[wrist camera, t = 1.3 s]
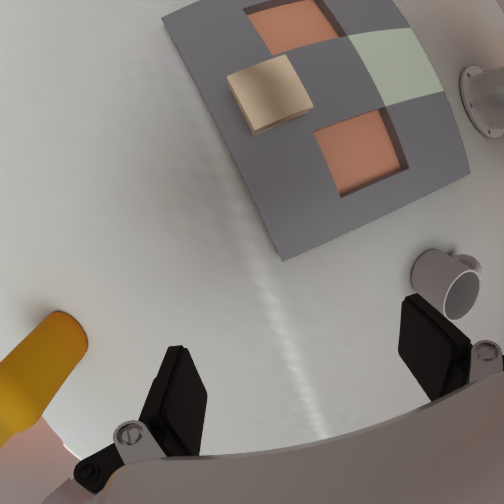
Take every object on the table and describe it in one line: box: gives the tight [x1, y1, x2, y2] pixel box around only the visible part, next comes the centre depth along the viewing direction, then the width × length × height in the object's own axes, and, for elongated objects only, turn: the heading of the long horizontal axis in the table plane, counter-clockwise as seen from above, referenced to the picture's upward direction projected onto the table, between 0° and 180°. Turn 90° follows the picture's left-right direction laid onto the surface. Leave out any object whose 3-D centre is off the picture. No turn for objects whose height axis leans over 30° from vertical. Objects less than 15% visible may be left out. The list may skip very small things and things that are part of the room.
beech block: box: [227, 55, 314, 136], centre depth 24 cm, size 6×6×4 cm
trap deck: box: [161, 0, 470, 262], centre depth 26 cm, size 30×34×2 cm
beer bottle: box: [0, 312, 88, 449], centre depth 24 cm, size 9×9×29 cm
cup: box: [411, 250, 482, 322], centre depth 30 cm, size 7×10×9 cm
